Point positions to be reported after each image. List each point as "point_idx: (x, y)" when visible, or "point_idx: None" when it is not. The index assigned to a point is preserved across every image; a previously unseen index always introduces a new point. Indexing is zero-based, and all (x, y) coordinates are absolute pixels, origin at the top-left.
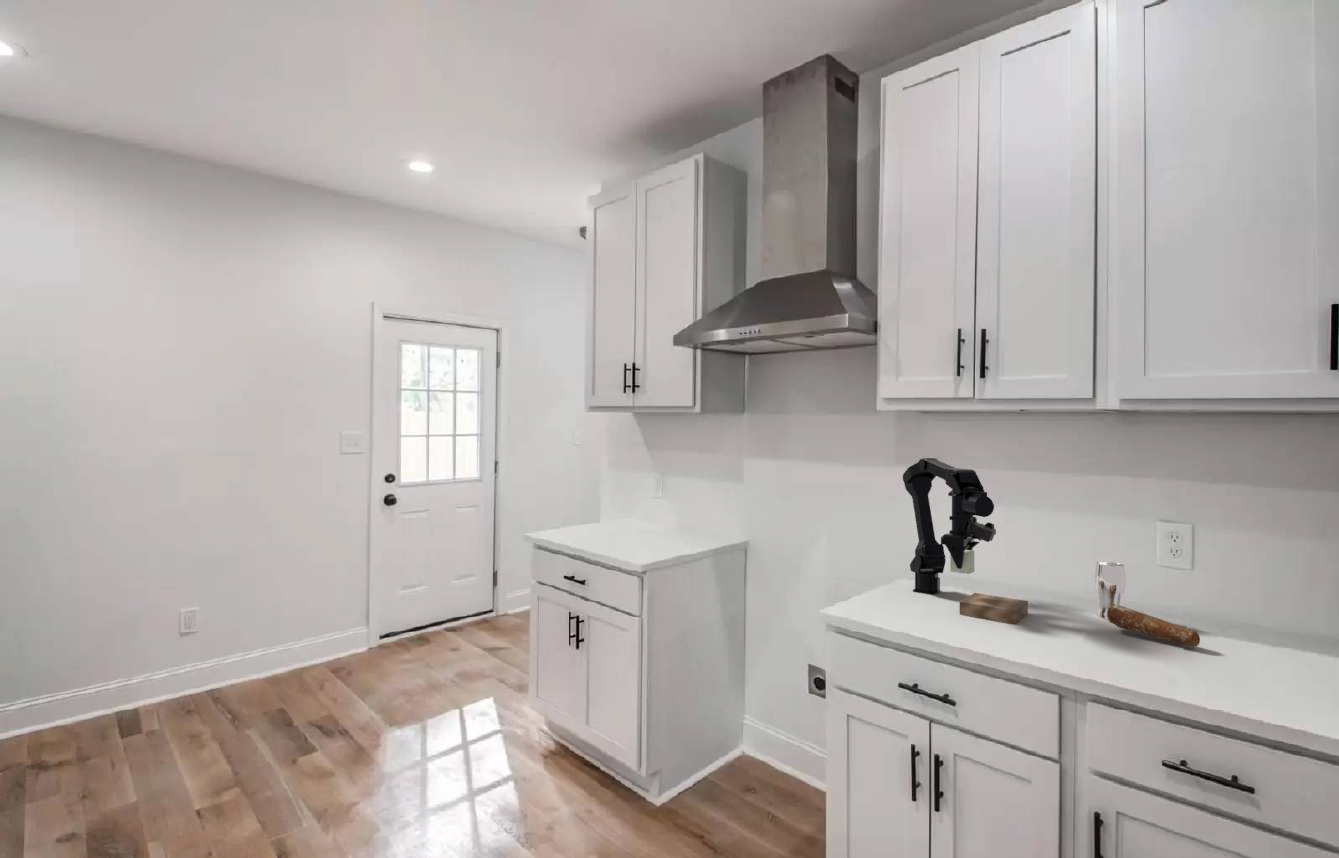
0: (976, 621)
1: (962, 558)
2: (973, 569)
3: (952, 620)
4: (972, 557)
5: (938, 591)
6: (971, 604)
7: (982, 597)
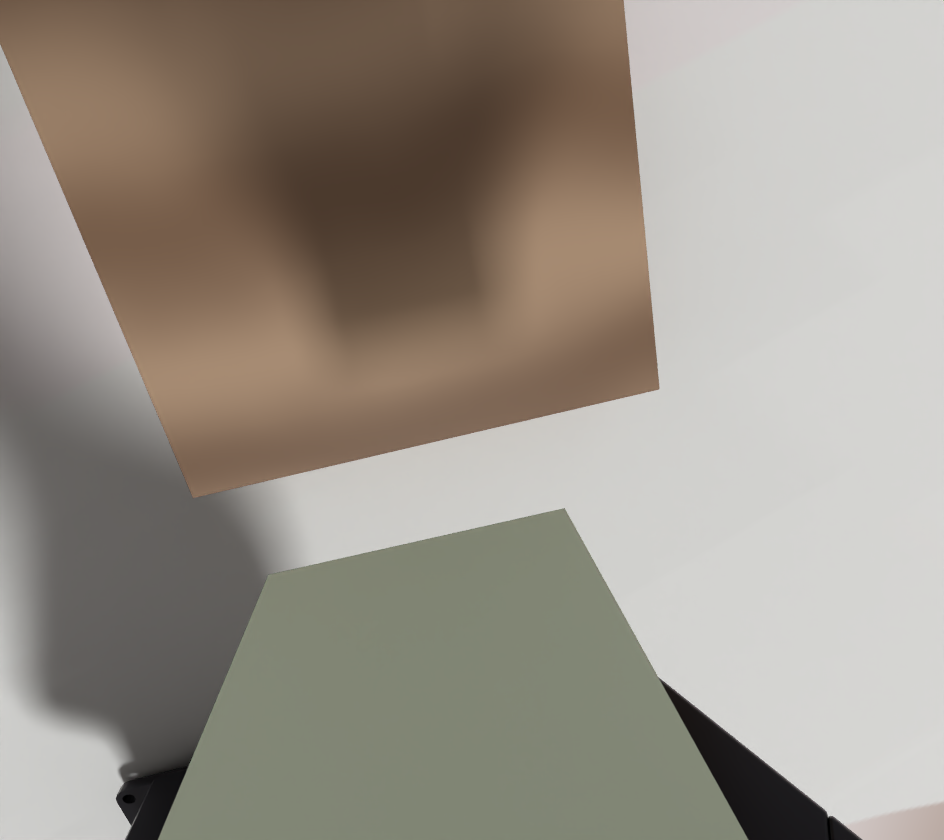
0: (714, 175)
1: (800, 807)
2: (306, 591)
3: (813, 305)
4: (333, 809)
5: (161, 776)
6: (645, 284)
7: (312, 352)
